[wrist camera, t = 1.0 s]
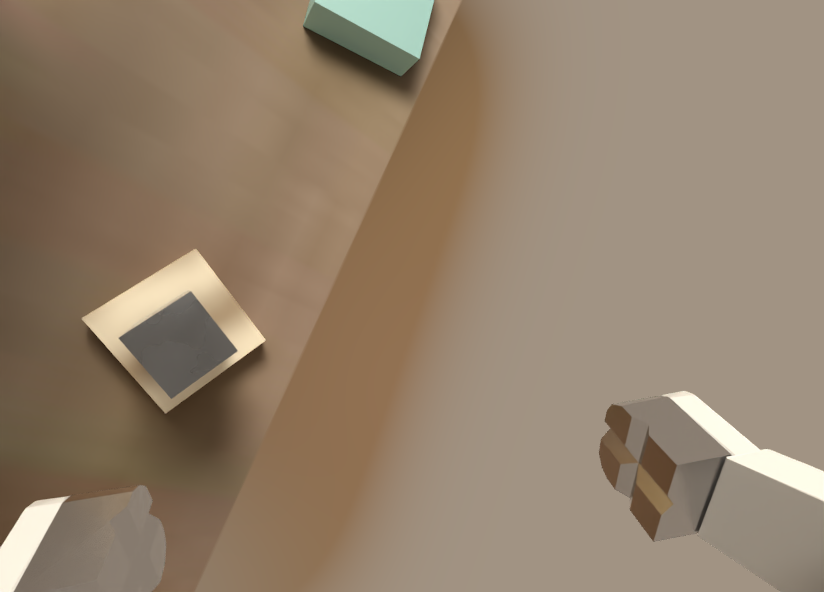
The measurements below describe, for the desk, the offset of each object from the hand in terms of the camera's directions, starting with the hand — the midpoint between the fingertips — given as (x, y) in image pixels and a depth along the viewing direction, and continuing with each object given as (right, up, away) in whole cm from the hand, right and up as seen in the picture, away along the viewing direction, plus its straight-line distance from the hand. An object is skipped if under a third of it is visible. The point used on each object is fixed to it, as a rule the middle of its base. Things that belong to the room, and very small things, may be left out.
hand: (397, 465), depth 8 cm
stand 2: (-4, +31, +36) cm, 48 cm away
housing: (-17, 0, +28) cm, 33 cm away
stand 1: (-19, 0, +30) cm, 35 cm away
